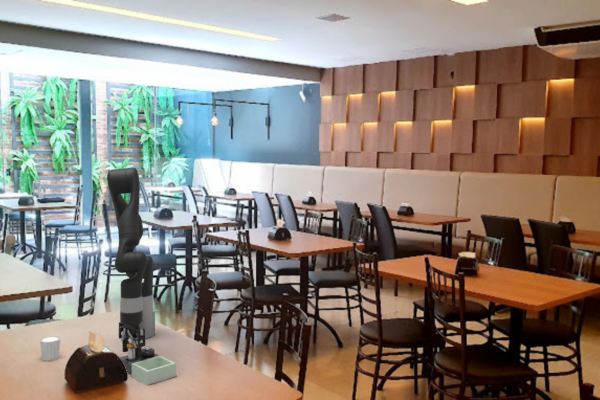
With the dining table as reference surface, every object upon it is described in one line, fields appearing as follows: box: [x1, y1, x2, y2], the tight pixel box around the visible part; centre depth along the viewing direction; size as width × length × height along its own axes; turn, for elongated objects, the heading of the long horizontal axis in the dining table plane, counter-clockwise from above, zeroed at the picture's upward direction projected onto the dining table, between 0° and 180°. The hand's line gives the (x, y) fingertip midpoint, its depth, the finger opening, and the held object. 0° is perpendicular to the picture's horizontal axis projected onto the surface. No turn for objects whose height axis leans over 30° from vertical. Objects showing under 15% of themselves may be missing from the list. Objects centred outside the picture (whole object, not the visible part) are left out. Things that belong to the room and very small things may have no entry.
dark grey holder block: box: [118, 346, 161, 376], centre depth 202 cm, size 12×9×6 cm
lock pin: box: [127, 341, 136, 362], centre depth 199 cm, size 3×3×9 cm
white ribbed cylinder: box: [39, 336, 61, 362], centre depth 209 cm, size 7×7×7 cm
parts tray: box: [131, 355, 177, 386], centre depth 193 cm, size 11×10×4 cm
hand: (131, 354), depth 199 cm, fingers open, 8 cm apart
